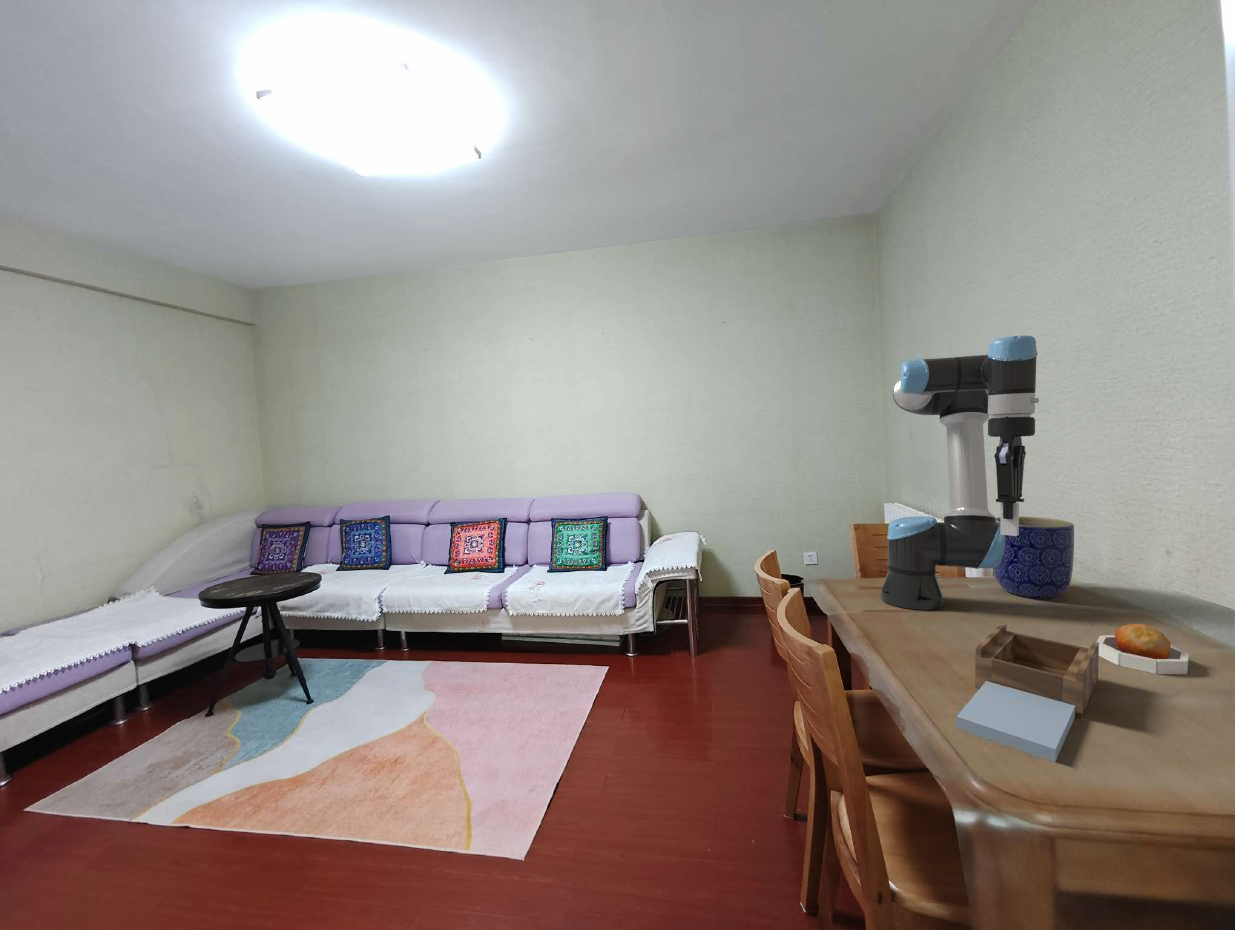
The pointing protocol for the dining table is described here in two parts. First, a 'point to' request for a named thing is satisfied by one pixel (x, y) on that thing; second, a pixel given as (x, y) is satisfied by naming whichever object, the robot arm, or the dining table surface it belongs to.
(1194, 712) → the dining table surface
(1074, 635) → the dining table surface
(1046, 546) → the planter
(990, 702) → the lid
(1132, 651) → the fruit
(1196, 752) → the dining table surface
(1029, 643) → the box
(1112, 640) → the fruit ring
